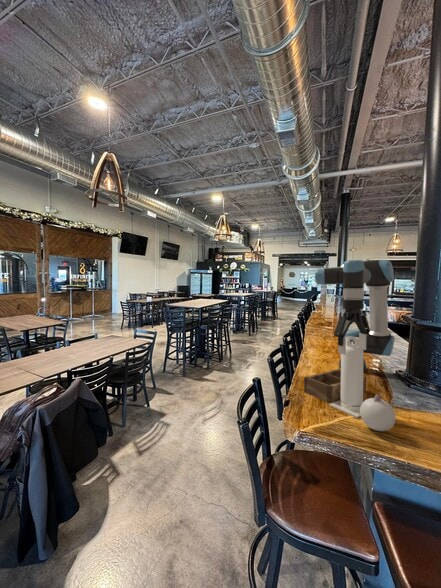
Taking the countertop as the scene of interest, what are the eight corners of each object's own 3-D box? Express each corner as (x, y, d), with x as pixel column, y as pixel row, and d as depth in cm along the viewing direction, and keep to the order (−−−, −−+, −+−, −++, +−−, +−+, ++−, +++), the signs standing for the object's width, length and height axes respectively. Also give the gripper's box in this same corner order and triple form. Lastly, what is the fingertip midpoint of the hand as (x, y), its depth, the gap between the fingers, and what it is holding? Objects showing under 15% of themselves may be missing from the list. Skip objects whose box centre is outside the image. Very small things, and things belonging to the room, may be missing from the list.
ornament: (381, 440, 83) (382, 402, 83) (353, 424, 93) (354, 391, 92) (401, 433, 87) (402, 397, 87) (373, 419, 97) (373, 387, 97)
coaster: (346, 399, 114) (346, 398, 114) (374, 410, 104) (374, 409, 104) (328, 405, 108) (328, 404, 108) (356, 418, 98) (356, 416, 98)
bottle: (337, 406, 106) (338, 337, 105) (344, 400, 112) (344, 335, 111) (359, 413, 100) (360, 340, 99) (365, 406, 106) (366, 337, 105)
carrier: (339, 382, 135) (339, 368, 135) (366, 391, 123) (366, 376, 123) (304, 392, 122) (304, 377, 122) (330, 403, 110) (330, 387, 110)
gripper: (362, 297, 114) (361, 345, 115) (324, 299, 102) (324, 353, 102) (380, 298, 108) (379, 349, 109) (341, 300, 95) (341, 358, 96)
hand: (352, 351), depth 106 cm, fingers open, 13 cm apart
